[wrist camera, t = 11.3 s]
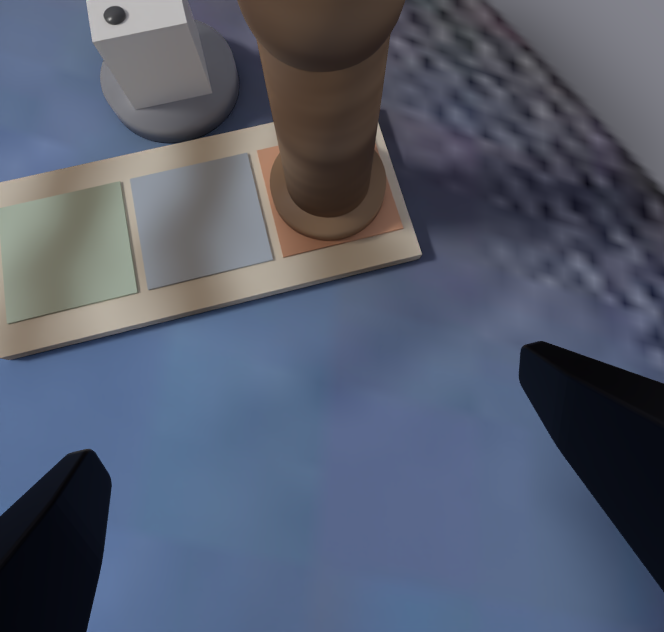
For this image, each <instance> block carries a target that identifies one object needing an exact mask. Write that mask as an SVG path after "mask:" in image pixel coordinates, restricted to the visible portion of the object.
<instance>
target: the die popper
mask: <svg viewBox="0 0 664 632" xmlns="http://www.w3.org/2000/svg"><path fill="white" fill-rule="evenodd" d="M86 2H87V9H88V16H89V22H90V29H91V35H92V42H93V44H94V45H95V47H96V48H97V50H98V52H99V53H100V55H101V56H102V58H103V59H104V60H103V63H102V67H101V74H100V80H101V87H102V91H103V94H104V96H105V98H106V100H107V102H108V103H109V105H110V106H111V108H112V109H113V110H114V112H115V113H116V115H117V116H118V118H119V119H120V120H121V122H122V123H123V124H124V125H125V126H126V127H127V128H128V129H129V130H131V131H132V132H134V133H135V134H137V135H139V136H141V137H143V138H145V139H148V140H151V141H156V142H162V143H178V142H184V141H189V140H192V139H196V138H198V137H201V136H203V135H205V134H207V133H209V132H211V131H212V130H213V129H215V128H216V127H218V126H219V125H220V124H221V123H222V122H223V121H224V120H225V119H226V118H227V116H228V115H229V114H230V112H231V111H232V109H233V107H234V105H235V103H236V100H237V97H238V93H239V77H238V72H237V69H236V65H235V61H234V57H233V54H232V51H231V49H230V47H229V45H228V43H227V42H226V40H225V39H224V38H223V37H222V36H221V35H220V34H219V33H218V32H217V31H216V30H215V29H213V28H212V27H210V26H208V25H207V24H205V23H202V22H200V21H197V20H194V18H193V15H192V12H191V9H190V6H189V3H188V0H86Z"/></svg>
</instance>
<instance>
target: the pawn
mask: <svg viewBox="0 0 664 632" xmlns="http://www.w3.org/2000/svg"><path fill="white" fill-rule="evenodd" d="M404 3H405V0H238V4H239V6H240V9H241V12H242V14H243V16H244V19H245V21H246V23H247V24H248V26H249V28H250V30H251V31H252V33H253V34H254V36H255V37H256V39H257V44H258V49H259V53H260V58H261V63H262V68H263V73H264V78H265V83H266V88H267V92H268V97H269V102H270V107H271V112H272V117H273V122H274V126H275V131H276V136H277V141H278V146H279V151H280V153H279V154H278V156H277V158H276V159H275V161H274V164H273V166H272V169H271V173H270V190H271V195H272V198H273V202H274V205H275V208H276V210H277V212H278V214H279V216H280V217H281V218H282V220H283V221H284V222H285V223H286V224H287V225H288V226H289V227H290V228H292V229H293V230H294V231H296V232H297V233H299V234H301V235H303V236H306V237H309V238H312V239H317V240H325V241H331V240H339V239H344V238H347V237H350V236H353V235H355V234H357V233H359V232H360V231H362V230H363V229H365V228H366V227H367V226H368V225H369V224H370V223H371V222H372V221H373V220H374V219H375V217H376V216H377V214H378V213H379V211H380V209H381V206H382V203H383V200H384V195H385V190H386V172H385V168H384V165H383V162H382V160H381V158H380V157H379V155H378V153H377V152H376V151H375V150H374V148H375V141H376V134H377V127H378V119H379V112H380V105H381V98H382V90H383V83H384V76H385V69H386V61H387V54H388V47H389V40H390V34H391V32H392V30H393V28H394V26H395V25H396V23H397V21H398V19H399V16H400V14H401V11H402V8H403V6H404Z"/></svg>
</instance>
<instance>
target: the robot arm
mask: <svg viewBox="0 0 664 632" xmlns="http://www.w3.org/2000/svg"><path fill="white" fill-rule="evenodd" d="M519 381H520V384H521V386H522V388H523V390H524V392H525V393H526V395H527V397H528V398H529V400H530V402H531V404H532V405H533V407H534V409H535V410H536V412H537V414H538V416H539V417H540V419H541V421H542V422H543V424H544V426H545V428H546V429H547V431H548V433H549V434H550V436H551V438H552V439H553V441H554V443H555V444H556V446H557V447H558V449H559V450H560V452H561V453H562V454H563V456H564V457H565V459H566V460H567V461H568V463H569V464H570V465H571V467H572V468H573V469H574V471H575V472H576V473H577V475H578V476H579V478H580V479H581V480H582V482H583V483H584V484H585V486H586V487H587V488H588V490H589V491H590V492H591V494H592V495H593V497H594V498H595V499H596V501H597V502H598V503H599V505H600V506H601V507H602V509H603V510H604V511H605V513H606V514H607V516H608V517H609V518H610V520H611V521H612V522H613V524H614V525H615V526H616V528H617V529H618V530H619V532H620V533H621V535H622V536H623V537H624V539H625V540H626V541H627V543H628V544H629V545H630V547H631V548H632V549H633V551H634V552H635V554H636V555H637V556H638V558H639V559H640V560H641V562H642V563H643V564H644V566H645V567H646V568H647V570H648V571H649V573H650V574H651V575H652V577H653V578H654V579H655V581H656V582H657V583H658V585H659V586H660V587H661V589H662V590H663V592H664V384H663V383H660V382H658V381H655V380H652V379H649V378H646V377H643V376H641V375H638V374H635V373H632V372H629V371H626V370H623V369H621V368H618V367H615V366H612V365H609V364H606V363H604V362H601V361H598V360H595V359H592V358H589V357H586V356H584V355H581V354H578V353H575V352H572V351H569V350H567V349H564V348H561V347H558V346H555V345H552V344H549V343H547V342H543V341H538V342H534V343H530V344H526V345H524V346H523V347H522V348H521V352H520V365H519ZM111 487H112V484H111V478H110V475H109V473H108V472H107V470H106V469H105V467H104V465H103V464H102V462H101V461H100V459H99V458H98V456H97V454H96V453H95V452H94V451H93V450H91V449H84V450H80V451H76V452H72V453H69V454H67V455H66V456H65V457H64V458H63V459H62V460H60V461H59V462H58V463H57V464H56V465H55V466H54V467H53V468H52V469H51V470H50V471H49V472H48V473H46V474H45V475H44V476H43V477H42V478H41V479H40V480H39V481H38V482H37V483H36V484H35V485H34V486H32V487H31V488H30V489H29V490H28V491H27V492H26V493H25V494H24V495H23V496H22V497H21V498H19V499H18V500H17V501H16V502H15V503H14V504H13V505H12V506H11V507H10V508H9V509H8V510H7V511H5V512H4V513H3V514H2V515H1V516H0V632H86V631H87V627H88V622H89V618H90V614H91V609H92V605H93V601H94V596H95V592H96V588H97V583H98V579H99V575H100V570H101V565H102V559H103V553H104V545H105V537H106V529H107V521H108V512H109V504H110V496H111Z"/></svg>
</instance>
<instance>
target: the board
mask: <svg viewBox="0 0 664 632" xmlns="http://www.w3.org/2000/svg"><path fill="white" fill-rule="evenodd" d="M374 150H375V151H376V152H377V153H378V155H379V157H380V158H381V160H382V162H383V165H384V168H385V172H386V190H385V195H384V200H383V203H382V206H381V209H380V211H379V213H378V214H377V216H376V217H375V219H374V220H373V221H372V222H371V223H370V224H369V225H368V226H367V227H366V228H365V229H363V230H362V231H360V232H359V233H357V234H355V235H353V236H350V237H347V238H344V239H339V240H331V241H325V240H317V239H312V238H309V237H306V236H303V235H301V234H299V233H297V232H296V231H294V230H293V229H292V228H290V227H289V226H288V225H287V224H286V223H285V222H284V221H283V220H282V218H281V217H280V216H279V214H278V212H277V210H276V208H275V205H274V202H273V198H272V195H271V190H270V173H271V169H272V166H273V164H274V161H275V159H276V158H277V156H278V154H279V153H280V151H279V146H278V141H277V136H276V131H275V126H274V122H272V123H268V124H263V125H259V126H254V127H250V128H245V129H240V130H236V131H231V132H227V133H222V134H218V135H213V136H209V137H204V138H200V139H195V140H191V141H186V142H182V143H177V144H173V145H168V146H163V147H159V148H154V149H150V150H145V151H141V152H136V153H132V154H127V155H123V156H118V157H114V158H109V159H105V160H100V161H96V162H91V163H86V164H82V165H77V166H73V167H68V168H64V169H59V170H55V171H50V172H46V173H41V174H37V175H32V176H28V177H23V178H19V179H14V180H9V181H5V182H0V358H2V359H7V360H12V359H16V358H20V357H24V356H28V355H32V354H36V353H40V352H44V351H48V350H52V349H56V348H60V347H64V346H68V345H72V344H76V343H81V342H85V341H89V340H93V339H97V338H101V337H105V336H109V335H113V334H117V333H121V332H125V331H129V330H133V329H137V328H141V327H145V326H149V325H153V324H158V323H162V322H166V321H170V320H174V319H178V318H182V317H186V316H190V315H194V314H198V313H202V312H206V311H210V310H214V309H218V308H222V307H226V306H230V305H235V304H239V303H243V302H247V301H251V300H255V299H259V298H263V297H267V296H271V295H275V294H279V293H283V292H287V291H291V290H295V289H299V288H303V287H307V286H312V285H316V284H320V283H324V282H328V281H332V280H336V279H340V278H344V277H348V276H352V275H356V274H360V273H364V272H368V271H372V270H376V269H380V268H384V267H389V266H393V265H397V264H401V263H405V262H409V261H413V260H417V259H420V257H421V255H422V253H421V250H420V247H419V244H418V241H417V238H416V235H415V232H414V229H413V226H412V223H411V220H410V217H409V214H408V211H407V208H406V205H405V202H404V199H403V195H402V192H401V189H400V186H399V183H398V180H397V177H396V174H395V171H394V168H393V165H392V162H391V159H390V156H389V153H388V150H387V147H386V144H385V141H384V138H383V135H382V132H381V129H380V126H379V123H378V127H377V134H376V141H375V148H374Z"/></svg>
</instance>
